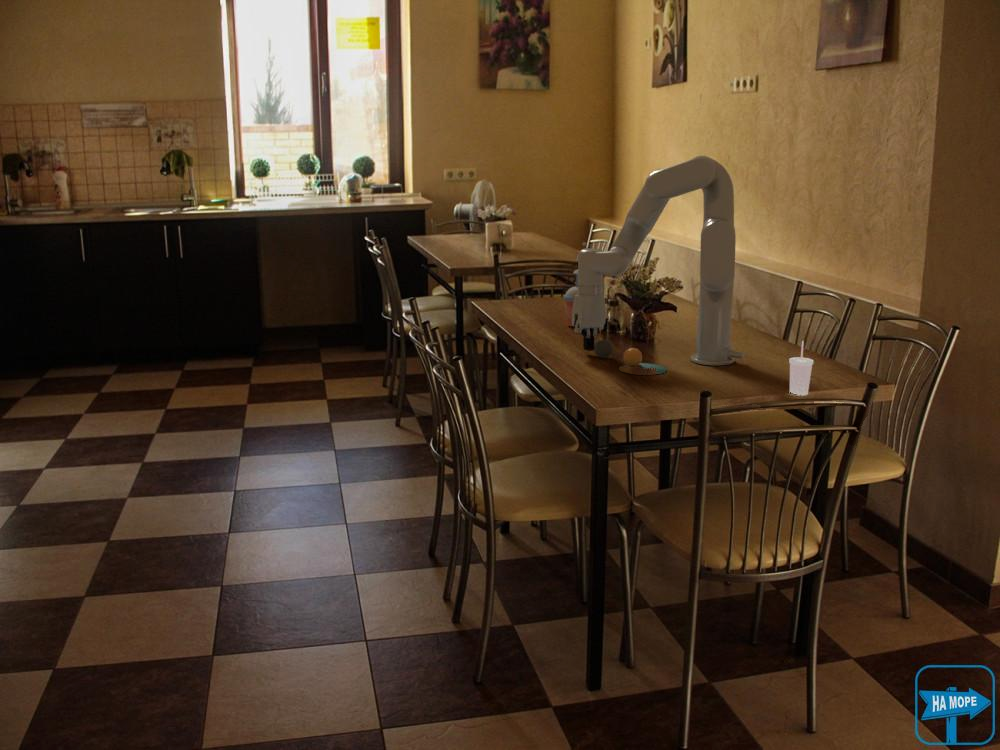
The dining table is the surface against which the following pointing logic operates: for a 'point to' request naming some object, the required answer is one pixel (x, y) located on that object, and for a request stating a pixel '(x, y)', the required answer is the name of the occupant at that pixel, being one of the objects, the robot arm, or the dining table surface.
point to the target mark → (658, 368)
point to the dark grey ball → (603, 349)
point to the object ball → (632, 357)
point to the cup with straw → (570, 301)
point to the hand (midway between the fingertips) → (588, 349)
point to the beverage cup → (800, 374)
